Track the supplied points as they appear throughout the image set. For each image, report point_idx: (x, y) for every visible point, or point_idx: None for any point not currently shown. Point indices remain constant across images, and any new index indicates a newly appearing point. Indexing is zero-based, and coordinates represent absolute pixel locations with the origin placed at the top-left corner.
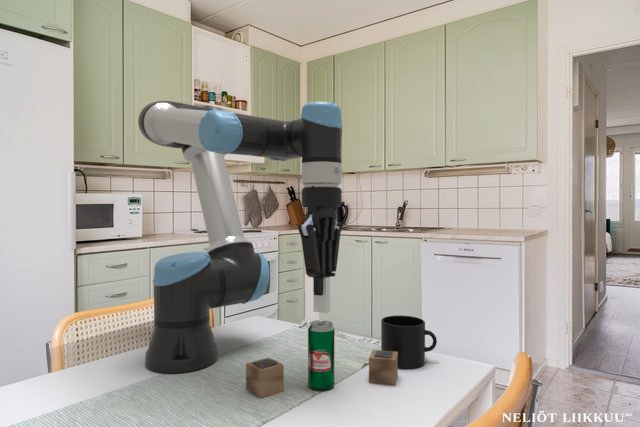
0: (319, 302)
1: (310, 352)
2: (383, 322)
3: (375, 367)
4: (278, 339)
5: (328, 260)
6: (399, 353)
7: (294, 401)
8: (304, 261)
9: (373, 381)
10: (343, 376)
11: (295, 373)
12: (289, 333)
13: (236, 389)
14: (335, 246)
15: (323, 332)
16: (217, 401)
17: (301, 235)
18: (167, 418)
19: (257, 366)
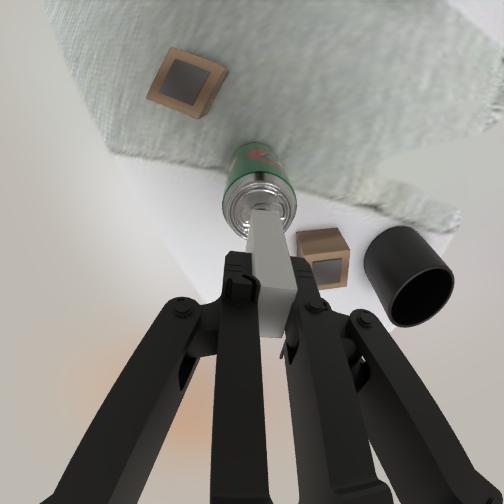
0: (249, 246)
1: (229, 172)
2: (414, 274)
3: (301, 256)
4: (444, 23)
5: (290, 400)
6: (372, 273)
7: (178, 151)
8: (131, 356)
9: (297, 240)
10: (310, 186)
11: (293, 98)
12: (475, 41)
13: (177, 39)
14: (377, 451)
15: (228, 224)
16: (126, 47)
17: (49, 502)
18: (64, 39)
19: (165, 77)
